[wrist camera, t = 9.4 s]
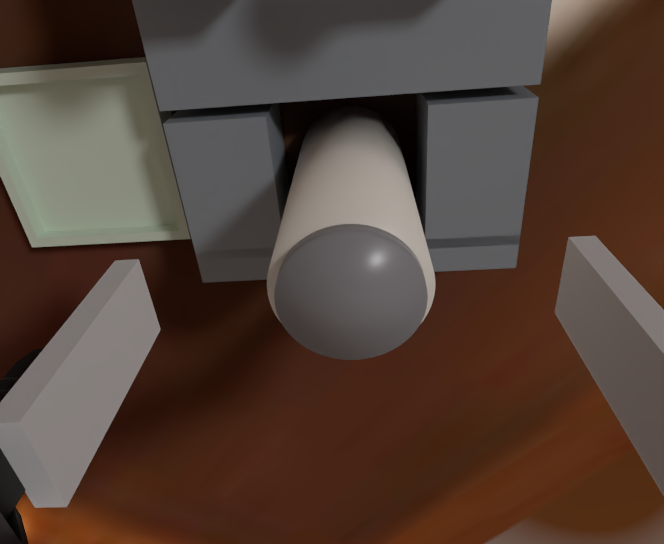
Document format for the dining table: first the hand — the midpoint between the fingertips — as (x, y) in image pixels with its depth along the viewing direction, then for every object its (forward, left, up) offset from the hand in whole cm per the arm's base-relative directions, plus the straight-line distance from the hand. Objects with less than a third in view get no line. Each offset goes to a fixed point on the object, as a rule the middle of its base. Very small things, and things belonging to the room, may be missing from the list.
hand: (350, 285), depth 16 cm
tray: (-1, -13, -11) cm, 17 cm away
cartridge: (0, 0, -11) cm, 11 cm away
